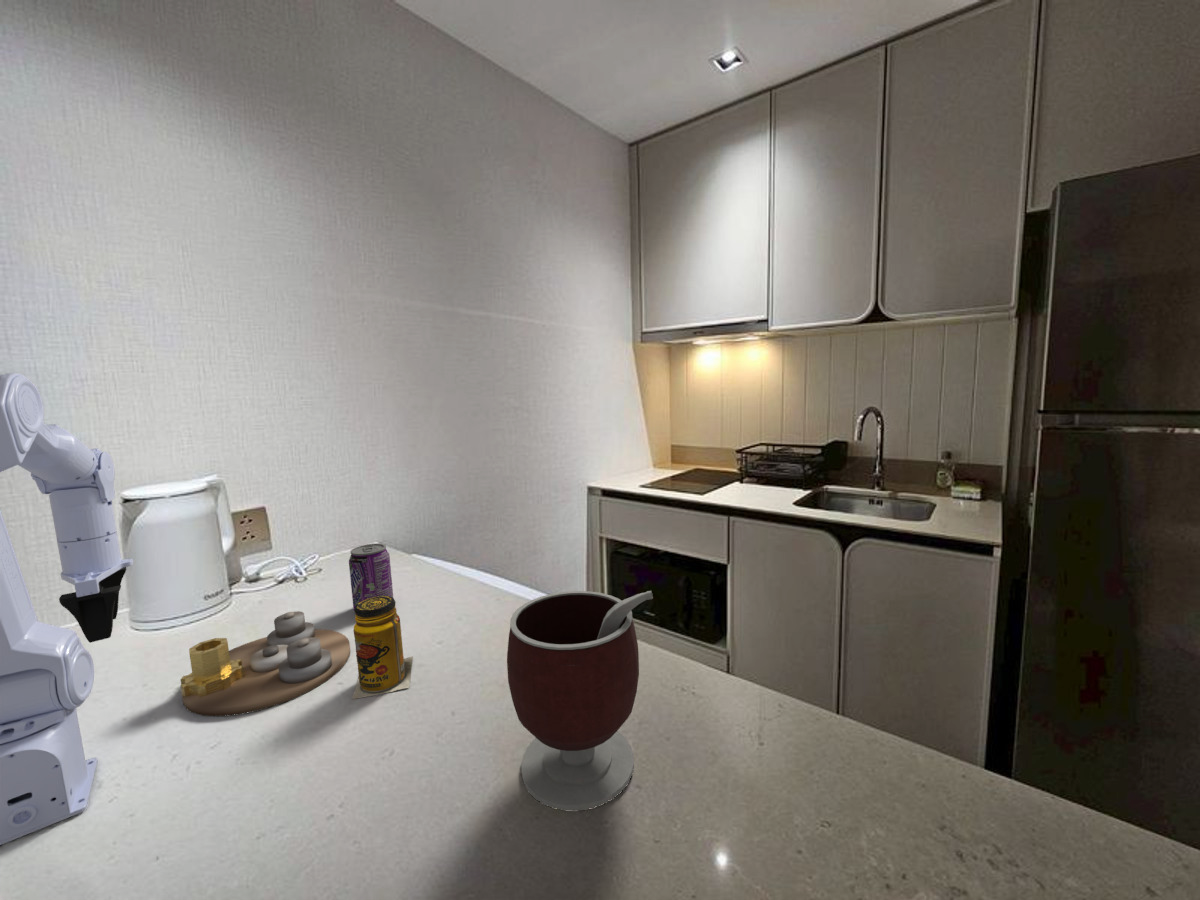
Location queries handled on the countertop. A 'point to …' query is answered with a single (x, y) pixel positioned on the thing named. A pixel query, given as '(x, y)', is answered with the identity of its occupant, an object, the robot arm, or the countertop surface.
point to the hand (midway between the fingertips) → (103, 629)
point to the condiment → (379, 648)
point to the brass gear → (210, 668)
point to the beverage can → (370, 572)
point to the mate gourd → (575, 694)
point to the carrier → (277, 668)
